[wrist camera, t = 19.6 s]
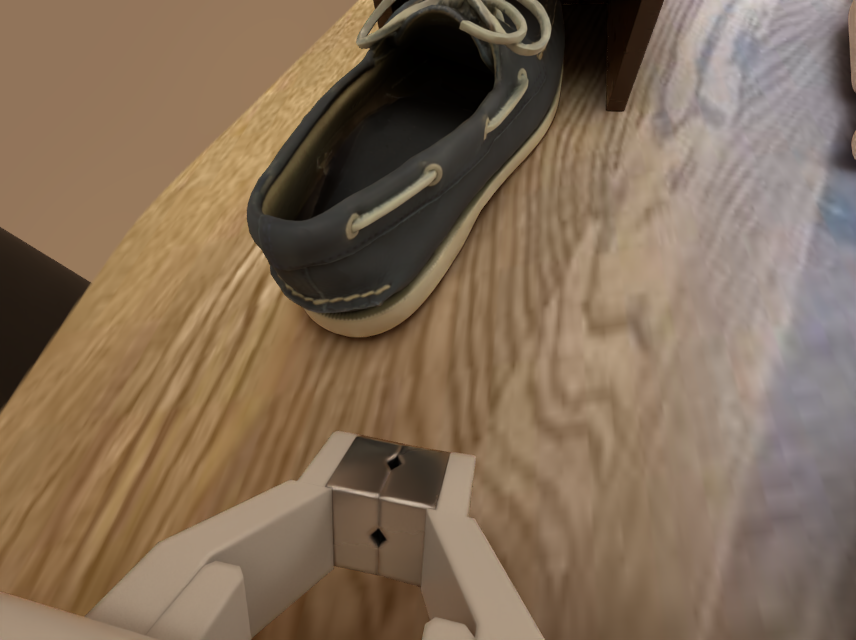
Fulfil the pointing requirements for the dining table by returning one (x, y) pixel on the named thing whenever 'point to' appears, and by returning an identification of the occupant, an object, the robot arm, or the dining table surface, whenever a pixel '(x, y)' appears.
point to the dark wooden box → (609, 41)
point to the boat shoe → (406, 156)
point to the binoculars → (853, 57)
